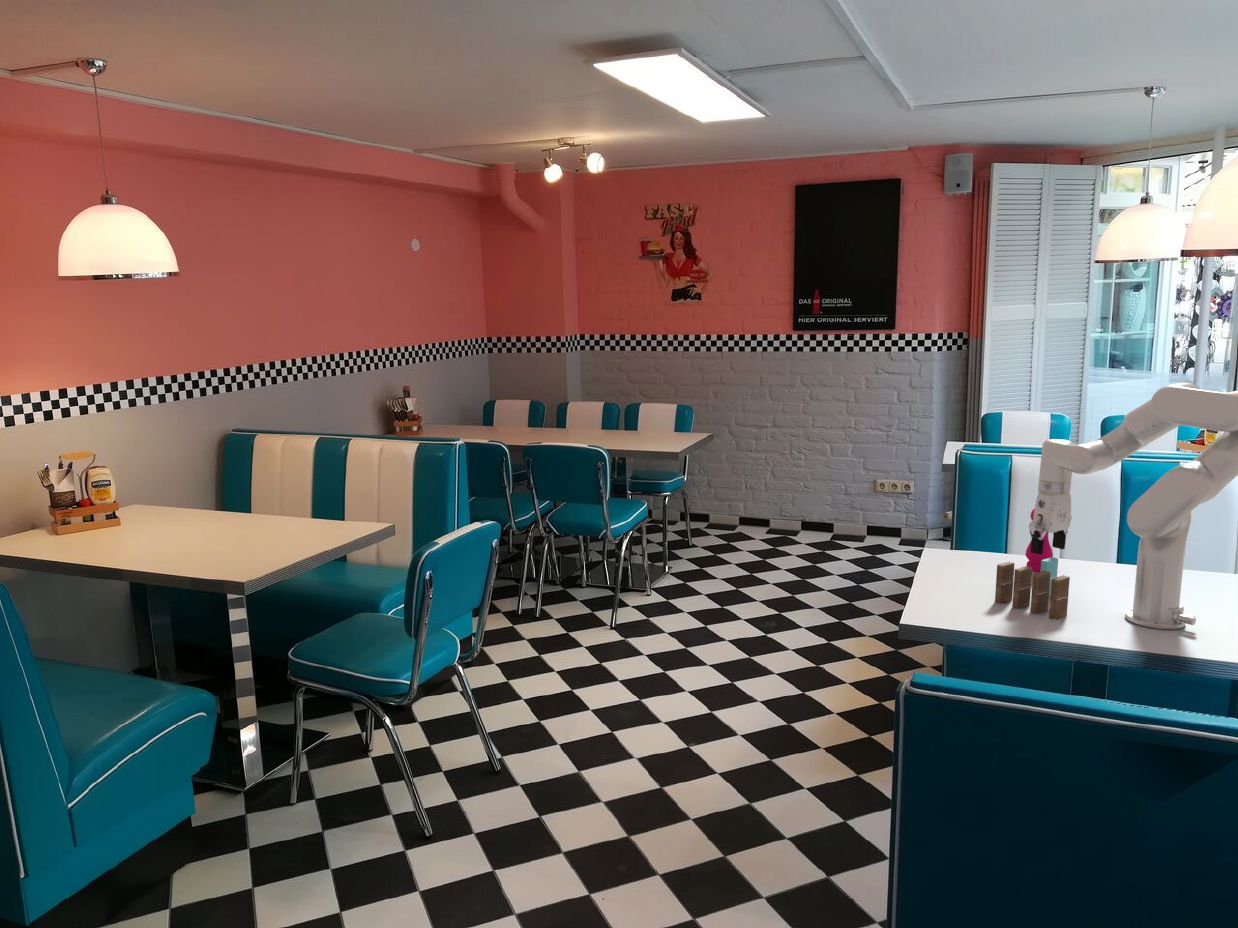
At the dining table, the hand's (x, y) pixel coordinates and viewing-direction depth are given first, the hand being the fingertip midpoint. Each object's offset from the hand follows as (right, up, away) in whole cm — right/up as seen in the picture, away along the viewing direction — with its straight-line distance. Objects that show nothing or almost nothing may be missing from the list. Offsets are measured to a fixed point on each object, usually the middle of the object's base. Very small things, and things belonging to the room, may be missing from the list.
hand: (1047, 550), depth 239 cm
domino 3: (-7, -14, -10) cm, 19 cm away
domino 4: (+1, -12, +1) cm, 12 cm away
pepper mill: (+10, -8, +26) cm, 29 cm away
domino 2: (-10, -14, -6) cm, 18 cm away
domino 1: (-12, -13, -2) cm, 18 cm away
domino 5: (-4, -15, -15) cm, 21 cm away
